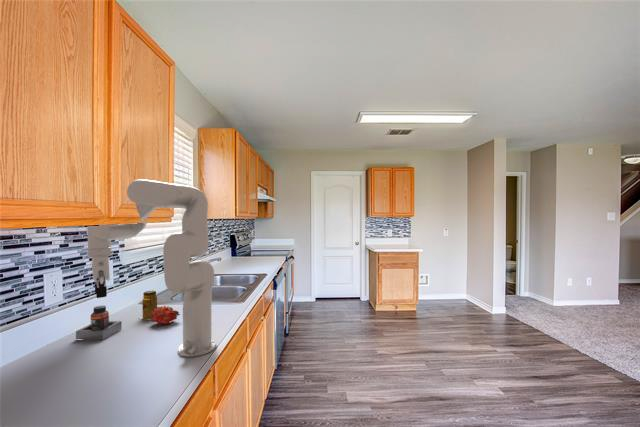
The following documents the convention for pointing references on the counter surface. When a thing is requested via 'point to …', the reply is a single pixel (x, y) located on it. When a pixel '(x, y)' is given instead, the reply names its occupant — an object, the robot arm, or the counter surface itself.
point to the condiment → (149, 304)
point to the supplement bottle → (99, 318)
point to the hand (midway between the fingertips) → (100, 295)
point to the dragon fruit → (163, 315)
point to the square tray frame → (99, 331)
